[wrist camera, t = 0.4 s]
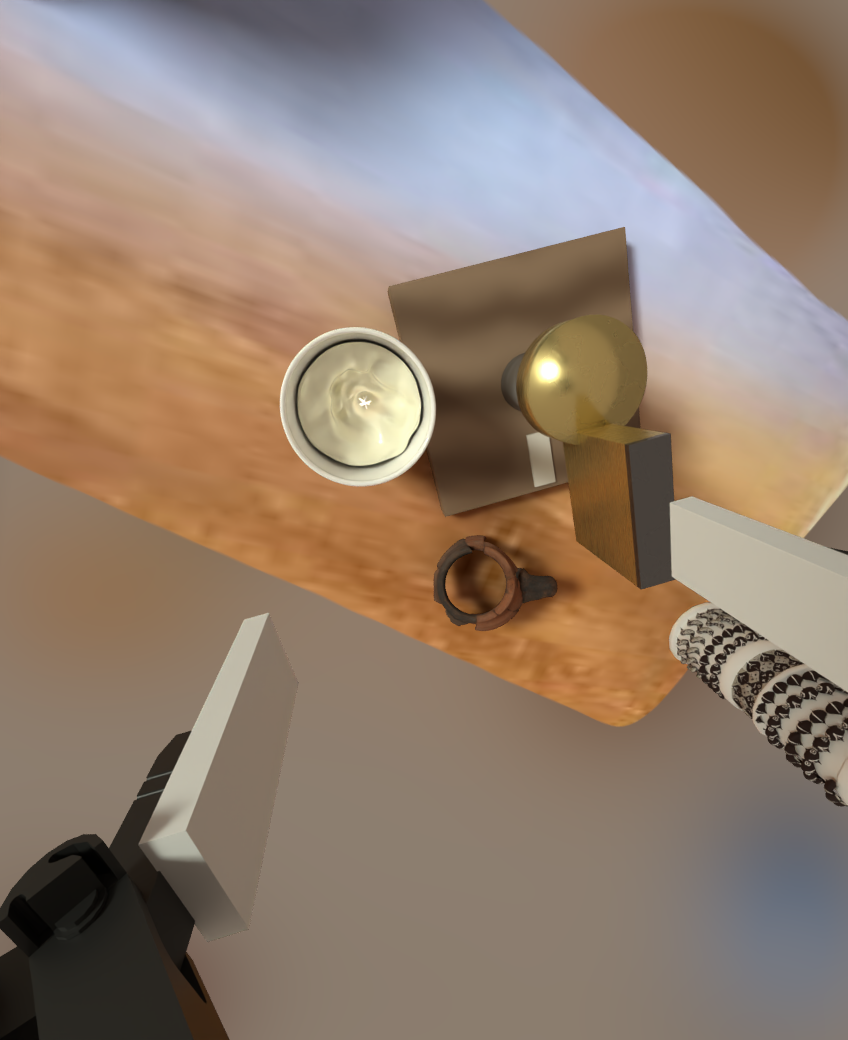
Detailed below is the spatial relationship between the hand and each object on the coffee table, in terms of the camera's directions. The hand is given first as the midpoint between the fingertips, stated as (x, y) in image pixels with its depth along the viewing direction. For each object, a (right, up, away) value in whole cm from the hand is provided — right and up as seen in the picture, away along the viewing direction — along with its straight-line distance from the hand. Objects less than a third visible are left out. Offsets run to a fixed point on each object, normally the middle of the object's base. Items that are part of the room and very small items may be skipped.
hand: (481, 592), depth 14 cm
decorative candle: (+32, -11, +38) cm, 51 cm away
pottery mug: (+5, -3, +32) cm, 33 cm away
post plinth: (+7, +15, +26) cm, 31 cm away
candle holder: (-7, +13, +25) cm, 29 cm away
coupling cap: (+9, +8, +18) cm, 22 cm away
